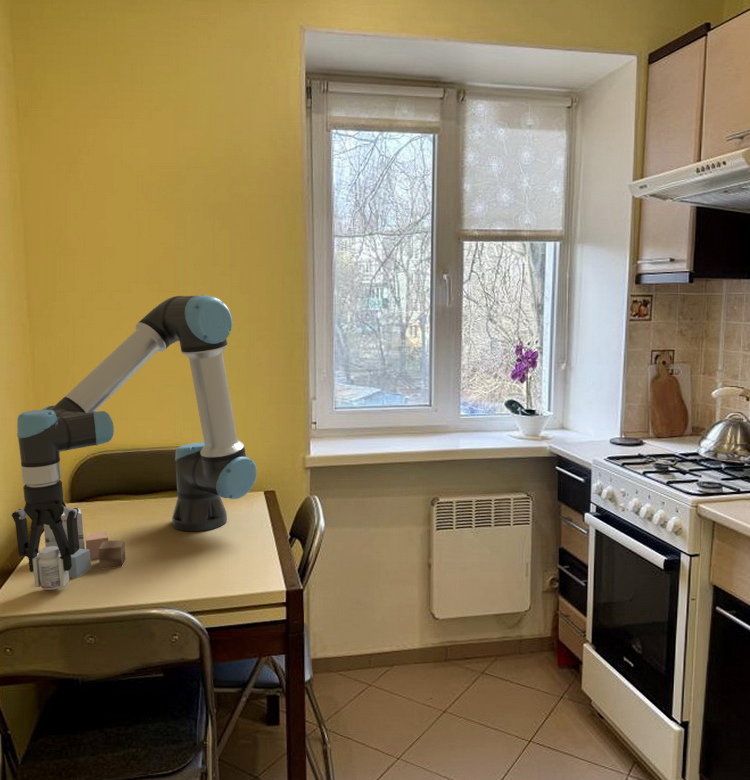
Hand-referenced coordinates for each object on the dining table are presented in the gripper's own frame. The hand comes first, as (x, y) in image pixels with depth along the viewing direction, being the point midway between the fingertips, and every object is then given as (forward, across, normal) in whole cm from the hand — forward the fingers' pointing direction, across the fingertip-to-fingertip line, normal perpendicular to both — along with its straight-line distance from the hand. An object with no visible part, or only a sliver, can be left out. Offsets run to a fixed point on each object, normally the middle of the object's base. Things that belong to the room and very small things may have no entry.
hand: (52, 584), depth 147 cm
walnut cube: (+2, -8, -15) cm, 17 cm away
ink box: (+2, +5, -19) cm, 20 cm away
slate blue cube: (+2, -1, -10) cm, 10 cm away
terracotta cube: (+2, -2, -21) cm, 21 cm away
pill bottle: (+1, 0, 0) cm, 1 cm away
